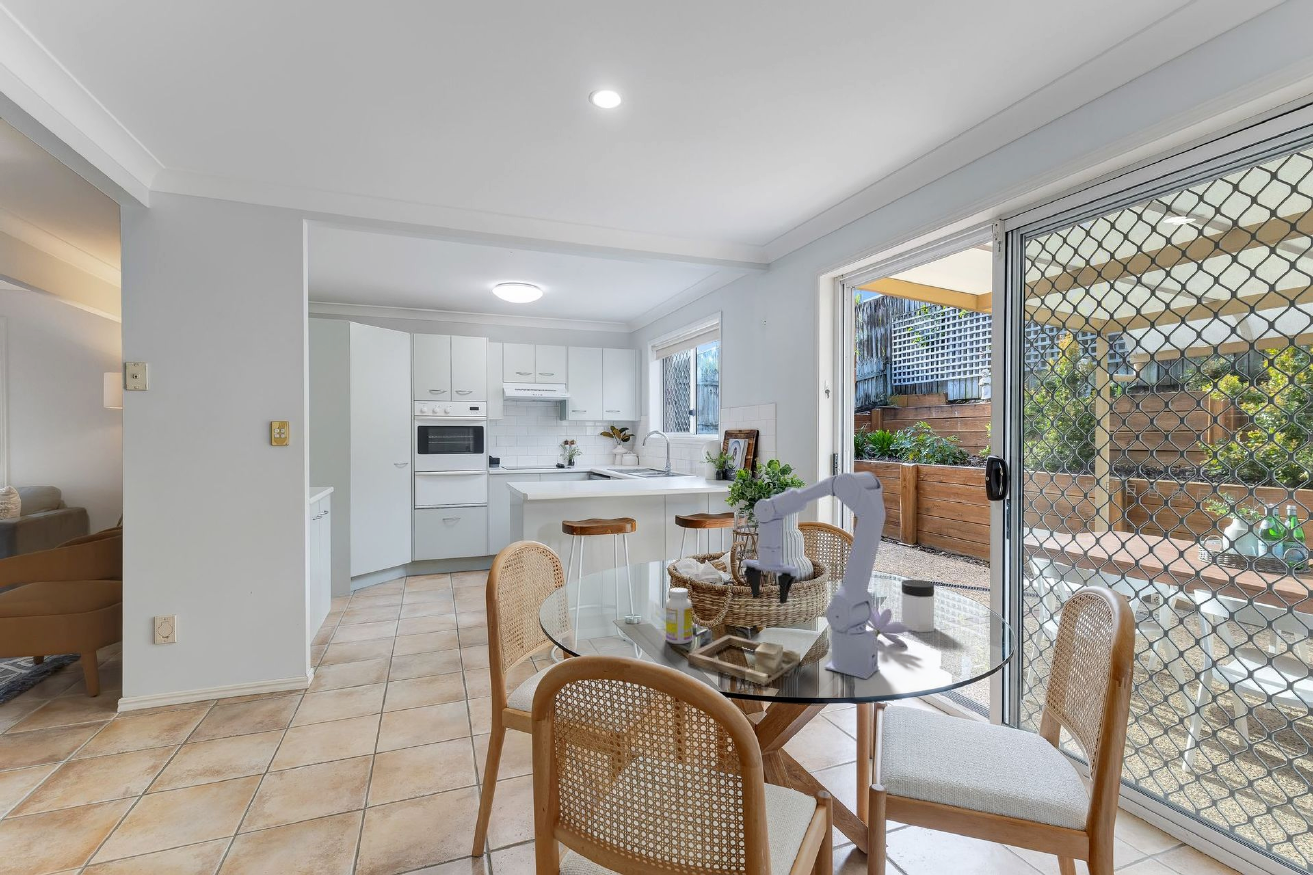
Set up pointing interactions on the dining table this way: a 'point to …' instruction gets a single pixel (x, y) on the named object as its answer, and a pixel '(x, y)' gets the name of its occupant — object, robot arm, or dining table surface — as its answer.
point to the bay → (703, 660)
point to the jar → (918, 605)
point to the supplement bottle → (678, 617)
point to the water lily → (886, 626)
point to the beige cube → (768, 658)
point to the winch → (703, 636)
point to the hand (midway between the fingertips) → (769, 600)
